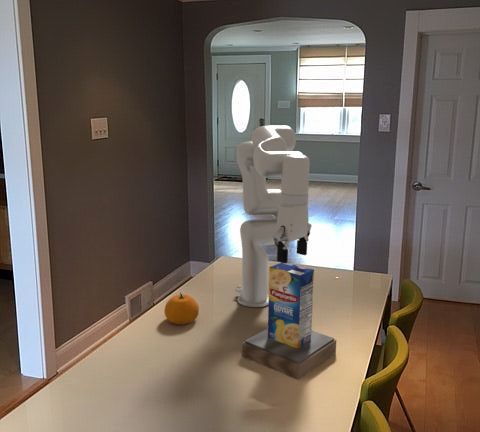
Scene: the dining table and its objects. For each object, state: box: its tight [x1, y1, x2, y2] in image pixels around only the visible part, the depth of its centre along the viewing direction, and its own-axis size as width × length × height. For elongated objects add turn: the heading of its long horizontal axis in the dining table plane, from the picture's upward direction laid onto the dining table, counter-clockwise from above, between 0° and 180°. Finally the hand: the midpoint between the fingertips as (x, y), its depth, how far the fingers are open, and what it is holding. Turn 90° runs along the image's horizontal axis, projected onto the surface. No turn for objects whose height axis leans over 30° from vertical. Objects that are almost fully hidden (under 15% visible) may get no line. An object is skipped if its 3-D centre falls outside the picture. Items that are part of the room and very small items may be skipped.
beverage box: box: [267, 262, 315, 349], centre depth 150 cm, size 7×11×22 cm, turn 50°
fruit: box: [164, 292, 200, 325], centre depth 176 cm, size 12×12×10 cm
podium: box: [241, 328, 337, 381], centre depth 153 cm, size 20×20×5 cm
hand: (292, 258), depth 147 cm, fingers open, 9 cm apart
